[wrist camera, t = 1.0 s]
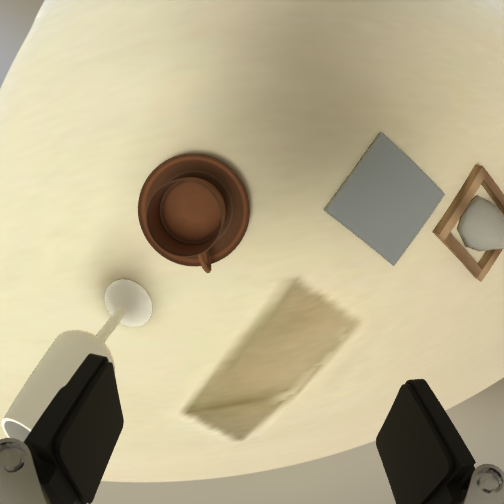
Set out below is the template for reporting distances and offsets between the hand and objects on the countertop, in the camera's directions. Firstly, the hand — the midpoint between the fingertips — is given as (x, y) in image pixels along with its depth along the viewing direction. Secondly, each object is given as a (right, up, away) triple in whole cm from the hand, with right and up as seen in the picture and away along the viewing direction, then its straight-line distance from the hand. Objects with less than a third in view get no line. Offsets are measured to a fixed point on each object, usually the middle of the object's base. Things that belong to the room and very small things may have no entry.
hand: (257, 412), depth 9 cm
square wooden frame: (+30, +9, +25) cm, 40 cm away
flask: (+30, +9, +26) cm, 40 cm away
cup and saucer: (-6, +10, +26) cm, 28 cm away
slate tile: (+15, +11, +25) cm, 31 cm away
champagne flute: (-16, -1, +29) cm, 33 cm away
